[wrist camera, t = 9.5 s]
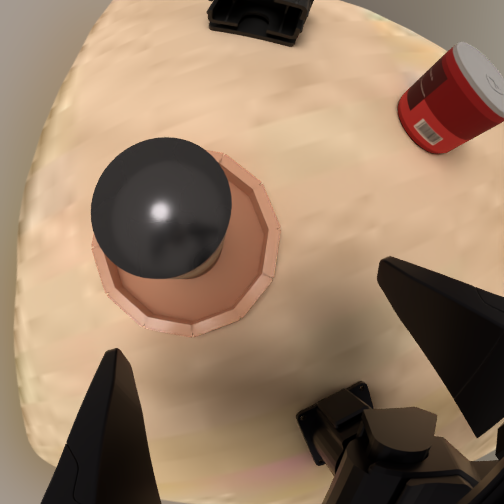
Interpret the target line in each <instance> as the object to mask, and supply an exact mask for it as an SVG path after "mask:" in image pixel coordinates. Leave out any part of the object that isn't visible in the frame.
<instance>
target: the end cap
mask: <svg viewBox="0 0 504 504" xmlns="http://www.w3.org/2000/svg"><path fill="white" fill-rule="evenodd" d="M209 1H213V0H209ZM313 1H314V0H214V1H213V2H212V4H211V6H210V7H209V9H208V10H207V14H208V20H209V21H210V23H209V29H210V30H213V31H220V32H226V33H231V34H237V35H242V36H247V37H252V38H256V39H261V40H265V41H269V42H273V43H277V44H281V45H285V46H289V47H291V46H293V45H294V44H295V41H296V38H297V37H298V34H299V33H301V32H302V29H303V25H304V23H305V21H306V18H307V17H308V15H309V11H310V8H311V6H312V3H313Z"/></svg>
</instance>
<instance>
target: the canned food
mask: <svg viewBox="0 0 504 504" xmlns="http://www.w3.org/2000/svg"><path fill="white" fill-rule="evenodd" d="M398 114H399V118H400V121H401V123H402V125H403V127H404V129H405V130H406V132H407V133H408V135H409V136H410V137H411V138H412V140H413V141H414V142H415V143H416V144H418V145H419V146H420V147H421V148H423V149H425V150H426V151H428V152H431V153H435V154H438V153H446V152H449V151H451V150H452V149H454V148H456V147H458V146H460V145H462V144H463V143H465V142H467V141H469V140H471V139H473V138H474V137H476V136H478V135H480V134H482V133H484V132H485V131H487V130H489V129H491V128H493V127H494V126H496V125H498V124H500V123H502V122H503V121H504V78H503V77H502V75H501V74H500V72H499V71H498V70H497V68H496V67H495V66H494V65H493V64H492V62H491V61H490V60H489V59H488V58H487V57H486V56H485V55H484V54H483V53H481V52H480V51H479V50H478V49H476V48H475V47H473V46H471V45H470V44H467V43H465V42H459V43H458V44H456V45H454V47H452V48H451V49H450V50H449V51H448V52H447V53H446V54H444V55H443V56H442V57H441V58H440V59H439V60H438V61H437V62H436V63H435V64H434V65H433V66H432V67H431V68H430V69H429V70H428V71H427V72H426V73H425V74H424V75H423V76H422V77H421V78H420V79H419V80H417V81H416V82H415V83H414V84H413V85H412V86H411V87H410V88H409V89H408V90H407V91H406V92H405V93H404V94H403V95H402V97H401V99H400V102H399V104H398Z"/></svg>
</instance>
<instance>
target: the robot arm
mask: <svg viewBox="0 0 504 504" xmlns="http://www.w3.org/2000/svg"><path fill="white" fill-rule="evenodd" d="M377 281H378V284H379V286H380V287H381V289H382V290H383V292H384V294H385V295H386V297H387V299H388V300H389V302H390V304H391V305H392V307H393V309H394V311H395V312H396V314H397V315H398V317H399V318H400V320H401V321H402V323H403V324H404V325H405V327H406V328H407V330H408V331H409V332H410V334H411V335H412V337H413V338H414V339H415V341H416V342H417V344H418V345H419V347H420V348H421V349H422V351H423V352H424V354H425V355H426V357H427V358H428V360H429V361H430V363H431V364H432V366H433V367H434V369H435V370H436V372H437V373H438V375H439V376H440V378H441V379H442V381H443V383H444V384H445V386H446V387H447V389H448V390H449V392H450V394H451V395H452V397H453V398H454V400H455V402H456V404H457V405H458V407H459V409H460V410H461V412H462V414H463V415H464V417H465V419H466V420H467V422H468V424H469V426H470V427H471V429H472V431H473V433H474V434H475V436H476V437H477V438H478V437H480V436H481V435H482V434H484V433H485V432H486V431H488V430H489V429H490V428H491V427H493V426H494V425H495V424H496V423H498V422H499V421H500V420H501V419H502V418H504V297H502V296H499V295H496V294H493V293H490V292H487V291H485V290H482V289H480V288H477V287H474V286H472V285H469V284H466V283H464V282H461V281H459V280H456V279H453V278H450V277H448V276H445V275H442V274H440V273H437V272H434V271H431V270H429V269H426V268H423V267H420V266H417V265H415V264H412V263H409V262H406V261H403V260H400V259H397V258H394V257H391V256H389V257H386V258H384V259H382V260H381V261H380V263H379V268H378V274H377ZM361 386H363V387H362V389H360V387H361ZM301 416H305V417H304V418H303V419H300V418H301ZM296 419H297V422H298V424H299V426H300V429H301V431H302V433H303V436H304V438H305V441H306V443H307V445H308V448H309V450H310V452H311V455H312V457H313V459H314V461H315V463H316V465H318V466H321V465H324V464H326V465H327V466H328V468H329V469H330V470H331V472H332V473H333V475H334V476H335V477H334V479H333V481H332V483H331V486H330V488H329V490H328V492H327V494H326V496H325V498H324V501H323V503H322V504H504V422H503V424H502V425H501V426H500V427H499V428H498V434H497V445H496V454H495V455H496V457H497V458H498V459H499V460H494V461H469V460H468V459H467V458H466V457H464V456H463V455H462V454H461V453H460V452H459V451H458V450H457V449H456V448H454V447H453V446H452V445H451V444H450V443H449V442H448V441H447V440H446V439H444V438H442V437H436V436H434V433H435V427H436V421H437V415H436V414H434V413H431V412H428V411H425V410H422V409H419V408H417V407H407V408H390V409H374V408H373V404H372V401H371V397H370V393H369V390H368V386H367V384H366V383H364V382H362V381H361V382H358V383H356V384H355V385H353V386H351V387H349V388H347V389H343V390H341V391H339V392H337V393H335V394H333V395H331V396H329V397H327V398H325V399H323V400H321V401H319V402H318V403H317V404H315V405H313V406H311V407H309V408H307V409H305V410H303V411H300V412H299V413H298V414H297V415H296ZM319 460H321V461H319ZM41 504H161V500H160V496H159V493H158V489H157V485H156V480H155V476H154V472H153V467H152V462H151V458H150V453H149V448H148V442H147V437H146V431H145V425H144V419H143V413H142V408H141V404H140V400H139V396H138V392H137V388H136V384H135V380H134V375H133V371H132V367H131V365H130V363H129V361H128V360H127V359H126V357H125V356H124V355H123V353H122V352H121V350H120V349H118V348H115V349H111V350H108V351H106V352H105V354H104V356H103V358H102V360H101V363H100V365H99V367H98V369H97V371H96V373H95V375H94V378H93V380H92V382H91V384H90V386H89V389H88V391H87V393H86V395H85V398H84V400H83V402H82V405H81V407H80V409H79V412H78V414H77V417H76V419H75V422H74V424H73V426H72V429H71V432H70V434H69V437H68V439H67V444H65V447H64V450H63V452H62V455H61V457H60V460H59V463H58V465H57V468H56V470H55V472H54V475H53V477H52V479H51V481H50V484H49V486H48V488H47V490H46V493H45V495H44V497H43V499H42V502H41Z"/></svg>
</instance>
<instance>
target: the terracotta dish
mask: <svg viewBox="0 0 504 504" xmlns="http://www.w3.org/2000/svg"><path fill="white" fill-rule="evenodd" d="M206 151H207V152H208V153H209V154H211V155H212V156H213V157H214V158H215V160H216V161H217V162H218V163H219V164H220V166H221V168H222V169H223V171H224V173H225V175H226V177H227V179H228V183H229V186H230V190H231V196H232V209H231V217H230V221H229V225H228V229H227V232H226V236H225V240H224V244H223V247H222V251H221V254H220V257H219V259H218V261H217V263H216V264H215V265H214V267H213V268H212V269H211V270H209V271H208V272H207V273H205V274H204V275H202V276H200V277H197V278H193V279H149V278H142V277H138V276H135V275H132V274H130V273H128V272H125V271H124V270H122V269H121V268H119V267H118V266H116V265H115V264H114V263H113V262H111V261H110V259H109V258H108V257H107V256H106V255H105V254H104V252H103V251H102V249H101V248H100V246H99V244H98V242H97V240H96V238H95V235H94V236H93V241H92V246H93V247H94V248H92V252H93V255H94V259H95V262H96V265H97V269H98V272H99V275H100V278H101V281H102V284H103V287H104V290H105V293H108V295H107V296H108V297H109V298H110V299H111V300H112V301H113V302H114V303H115V304H117V305H118V306H119V307H120V308H121V309H122V310H123V311H124V312H125V313H126V314H128V315H129V316H130V317H131V318H132V319H133V320H134V321H135V322H137V323H138V324H139V325H140V326H141V327H143V326H145V327H144V328H145V329H150V330H155V331H160V332H165V333H170V334H175V335H181V336H187V337H192V335H194V337H196V336H199V335H202V334H204V333H207V332H210V331H212V330H215V329H218V328H220V327H223V326H225V325H228V324H231V323H233V322H236V321H238V320H240V318H239V316H240V317H241V318H243V317H244V316H245V314H246V313H247V312H248V311H249V309H250V308H251V307H252V306H253V304H254V303H255V302H256V301H257V299H258V298H259V297H260V296H261V294H262V293H263V292H264V290H265V289H266V288H267V287H268V285H269V284H270V283H271V282H272V279H271V278H273V277H274V273H275V266H276V260H277V253H278V246H279V239H280V232H281V230H279V228H280V225H279V222H278V220H277V217H276V215H275V212H274V210H273V207H272V205H271V202H270V200H269V198H268V195H267V193H266V190H265V188H264V185H263V184H261V181H260V180H258V179H257V178H256V177H255V176H253V175H252V174H251V173H250V172H248V171H247V170H246V169H244V168H243V167H242V166H241V165H239V164H238V163H237V162H235V161H234V160H233V159H232V158H230V157H229V156H228V155H226V154H225V155H224V156H223V153H220V152H214V151H208V150H206ZM260 184H261V185H260ZM238 315H239V316H238Z"/></svg>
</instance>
